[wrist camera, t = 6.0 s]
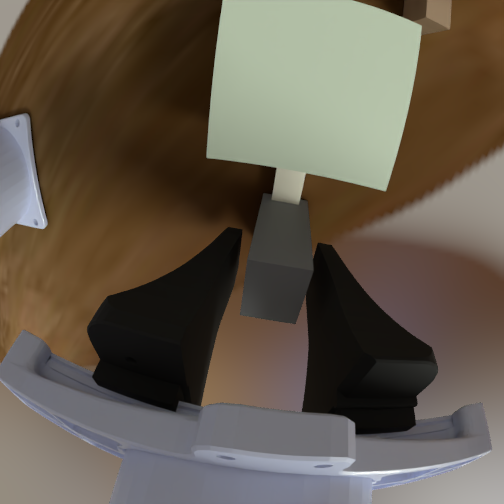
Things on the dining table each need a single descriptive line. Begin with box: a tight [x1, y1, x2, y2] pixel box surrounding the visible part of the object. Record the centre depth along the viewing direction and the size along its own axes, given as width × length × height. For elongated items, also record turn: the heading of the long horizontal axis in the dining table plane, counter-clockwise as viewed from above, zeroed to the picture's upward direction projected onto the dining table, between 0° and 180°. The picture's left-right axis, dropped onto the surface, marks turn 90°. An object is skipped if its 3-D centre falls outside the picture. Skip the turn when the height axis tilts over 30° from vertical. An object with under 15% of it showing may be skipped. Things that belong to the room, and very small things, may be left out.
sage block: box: [206, 0, 422, 324], centre depth 9 cm, size 10×5×5 cm, turn 173°
